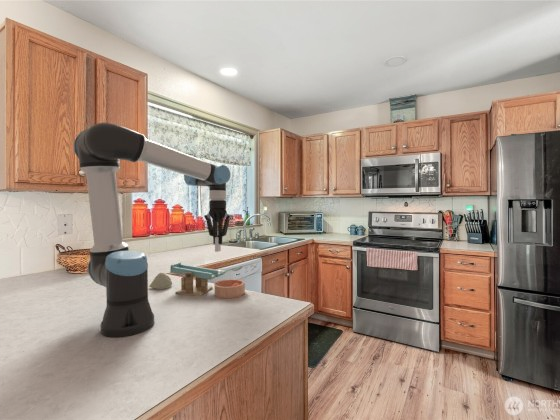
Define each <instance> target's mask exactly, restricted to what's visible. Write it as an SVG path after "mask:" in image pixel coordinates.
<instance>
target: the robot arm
mask: <svg viewBox="0 0 560 420" xmlns="http://www.w3.org/2000/svg"><path fill="white" fill-rule="evenodd" d="M73 152H74V154H75V156H76V157H77V158H78V163H79V170H81V171H82V172H83V173H85V177H86V184H87V185H86V186H87V192H88V193H87V194H88V201H89V212H90V218H91V227H92V237H93V246H92V247H91V248H90V249H89V259H90V260H89V261H88V264H87V273H88V275H89V277H90V279H92V281H93V282H94V283H95V284H98V285H99V286H101V287H102V286H103V287H105V289H106V290H105V291H106V292H105V293H106V294H105V295H106V307H105V310H104V313H103V317H102V321H101V322H100V334H101V335H102V336H104V337H108V338H120V337H121V338H122V337H128V336H132V335H136V334H139V333H142V332H145V331H147V330H149V329H150V328H152V326H153V325H154V324H155V314H154V312H153V311H152V308H151V303H150V302H149V283H148V281H149V279H148V277H149V276H148V271H149V270H148V268H149V264H148V258H147V255H146V254H145V253H143V252H141V251H137V250H134V251H133V250H129V244H127V243H126V242H124V241H123V231H122V221H121V212H120V203H119V193H118V191H119V190H118V183H117V175H116V174H117V172H118V171H119V170H120V169H121V165H120V163H121V162H120V161H121V160H122V161H127V162H131V163H134V164H135V163H137V162H142V163H144V164H145V163H146V164H149V165H151V166H155V167H158V168H161V169H165V170H168V171H170V172H171V171H172V172H173V173H174V172H175V173H178V174H181V175H183V180H184V182H185V184H186V185H187V186H194V187H208V188H209V190H208V191H209V198H208V199H209V211H208V212H207V214H205V215H204V216H203V217H204V219H205V220H206V225H207V231H208V235H209V236H210V237H213V240H212V241H213V242H212V243H213V245H214V252H215V253H216V252H217V253H218V252H221V249H222V248H221V247H222V244H223V237H224V236H225V237H226V236H227V233H228V229H229V225H230V221H231V218H232V215H231V214H229V213H227V212H228V211H227V201H226V199H227V183H228V182H229V181H230V180H231V170H230V168H229V167H228V166H227V165H225V164H215V163H211V162H209V161H206V160H202V159H200V158H197V157H195V156H192V155H190V154H186V153H185V152H181V151H179V150H177V149H174V148H171V147H168V146H166V145H164V144H163V145H162V144H160V143H158V142H156V141H152V140H149V139H147V138H146V136H145V135H144V134H143V133H140V132H137V131H135V130H132V129H130V128H127V127H125V126H123V125H122V126H121V125H118V124H117V123H110V122H99V123H96V124H93V125H92V126H89V128H86V129H84V130H82V131H81V132H80V133H78V134H77V136H76V137H75V139H74V141H73Z"/></svg>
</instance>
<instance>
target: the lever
mask: <svg viewBox="0 0 560 420" xmlns="http://www.w3.org/2000/svg"><path fill="white" fill-rule="evenodd" d="M169 271H170V273H171V274H175V275H176V274H177V275H182V276H185V273H186V272H191V273H193V278H196V277H198V278H203V279H208V280H210V281H212V280H213V279H215V278H219V277H220V276H222V275H224V274H226V273H227V270H226V269H225V270H224V269H219V268H218V269H213V268H206V267H200V266H194V265H187V264H183V263H182V261H179V262H176V263H172V264H171V265H170V269H169Z"/></svg>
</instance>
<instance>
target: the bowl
mask: <svg viewBox="0 0 560 420" xmlns="http://www.w3.org/2000/svg"><path fill="white" fill-rule="evenodd" d="M235 283H238V284H239V285H238V286H233V287H232V285H233V284H235ZM213 285H214V286H213V287H214V296H215V297H217V298H220V299H235V298H239V297H242V296H243V295H244V294H245V291H246V290H245V289H246V285H245V281H244V280H241V279H235V278H234V279H230V278H229V279H222V280H219V281H217V282H215V283H214V284H213Z"/></svg>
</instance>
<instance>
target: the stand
mask: <svg viewBox="0 0 560 420" xmlns="http://www.w3.org/2000/svg"><path fill="white" fill-rule="evenodd" d="M208 280H209V279H203V278H198V277H195V285H194V277H193V273H191V272H186V273H185V275H183V277H181V278H180V283H181V284H180V287H181V289H178V290H177V291H175V295H185V296H188V295H189V296H197V297H199V296H200V297H201V296H202V295H204V294H206V293H208V292H209V291H211V290H213V289H212V288H213V287H214V286H209V285H208V284H209V282H208Z"/></svg>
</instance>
